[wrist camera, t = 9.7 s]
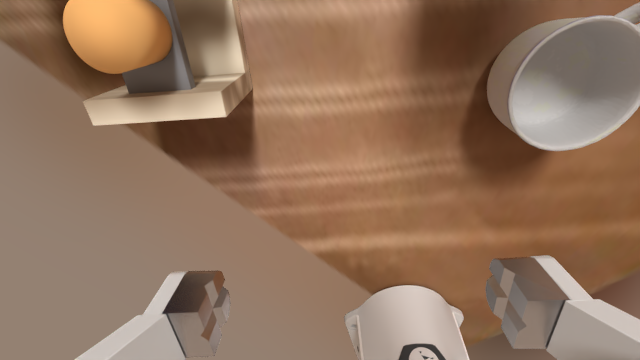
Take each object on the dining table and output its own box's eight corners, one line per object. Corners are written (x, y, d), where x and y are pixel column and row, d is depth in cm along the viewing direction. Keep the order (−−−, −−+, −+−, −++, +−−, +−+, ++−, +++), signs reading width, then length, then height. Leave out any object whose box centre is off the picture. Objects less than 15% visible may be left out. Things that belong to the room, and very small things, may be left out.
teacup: (496, 141, 36) (538, 173, 29) (454, 62, 32) (491, 77, 25) (629, 64, 31) (716, 79, 24) (600, -39, 27) (694, -56, 20)
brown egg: (160, -8, 22) (124, -12, 18) (180, 61, 24) (151, 71, 20) (98, -2, 22) (48, -5, 18) (123, 65, 24) (83, 76, 20)
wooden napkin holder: (252, 88, 33) (226, 116, 25) (153, 95, 34) (93, 125, 25) (226, -63, 27) (178, -97, 18) (105, -51, 28) (3, -79, 19)
